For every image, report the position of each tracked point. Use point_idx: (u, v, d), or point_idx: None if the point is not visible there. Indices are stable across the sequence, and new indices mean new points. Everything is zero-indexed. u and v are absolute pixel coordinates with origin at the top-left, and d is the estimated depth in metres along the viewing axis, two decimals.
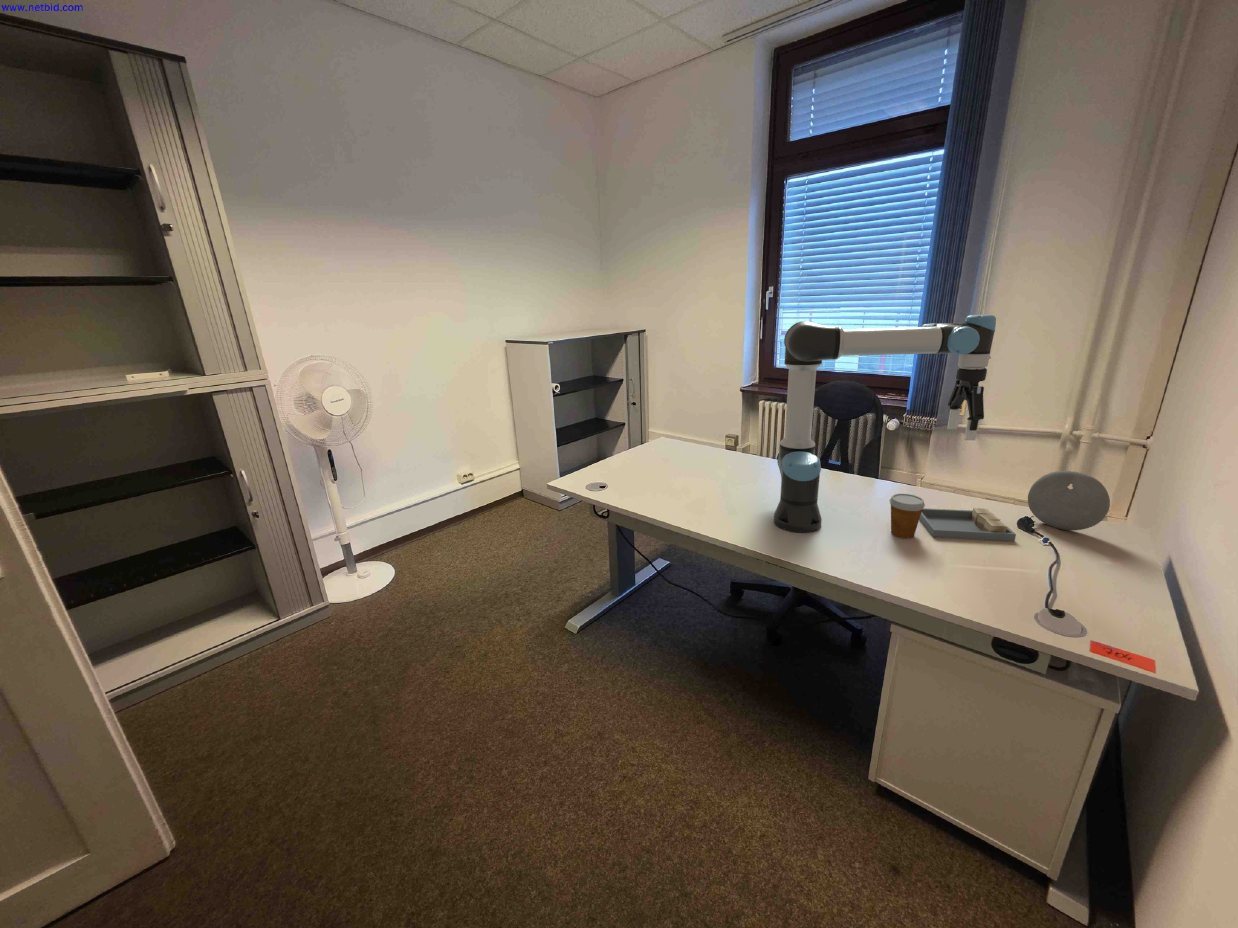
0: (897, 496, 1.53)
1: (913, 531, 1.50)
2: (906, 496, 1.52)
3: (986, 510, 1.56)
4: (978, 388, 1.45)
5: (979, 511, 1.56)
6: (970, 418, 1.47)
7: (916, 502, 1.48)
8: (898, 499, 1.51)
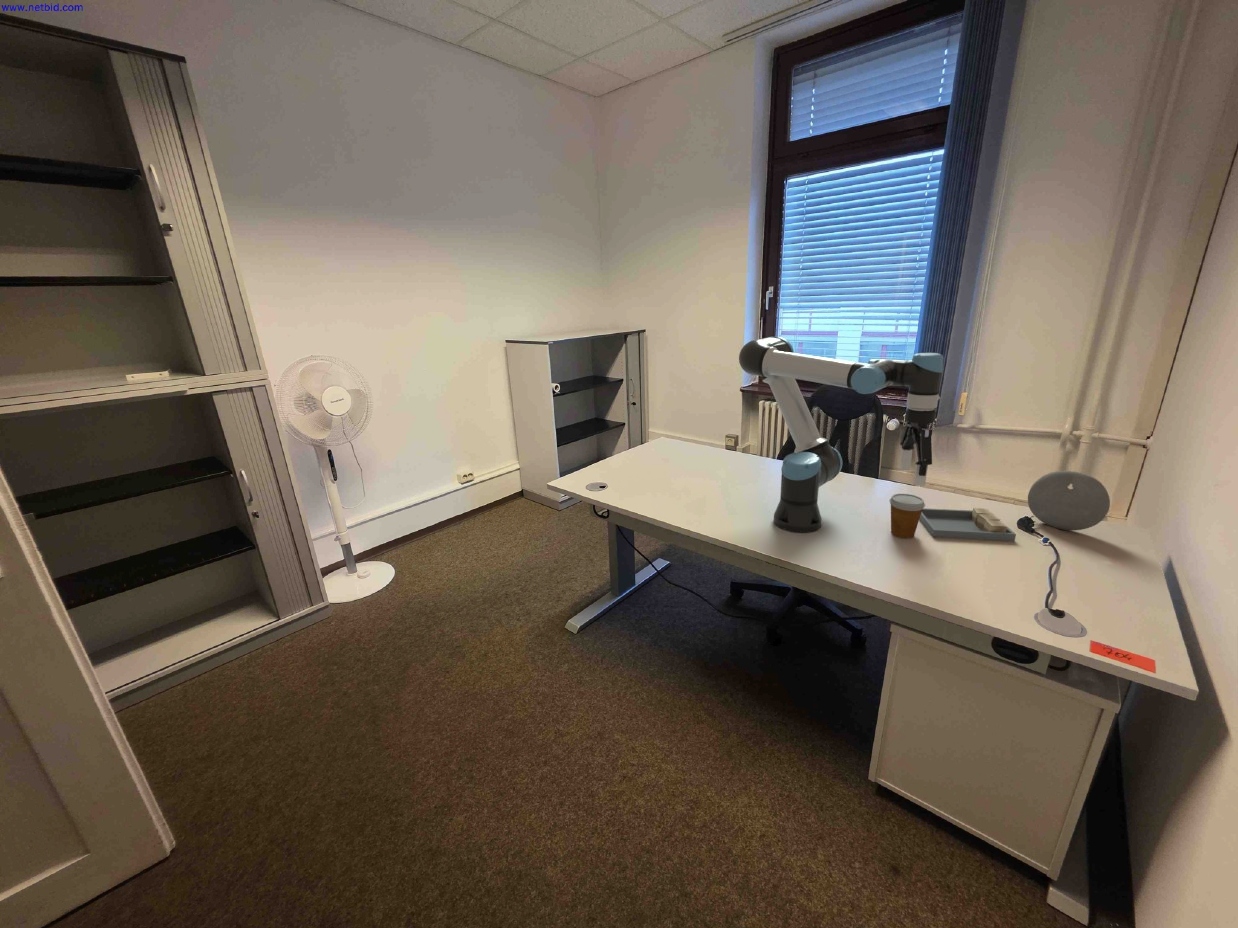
0: (897, 496, 1.53)
1: (913, 531, 1.50)
2: (906, 496, 1.52)
3: (986, 510, 1.56)
4: (926, 431, 1.36)
5: (979, 511, 1.56)
6: (918, 463, 1.38)
7: (916, 502, 1.48)
8: (898, 499, 1.51)
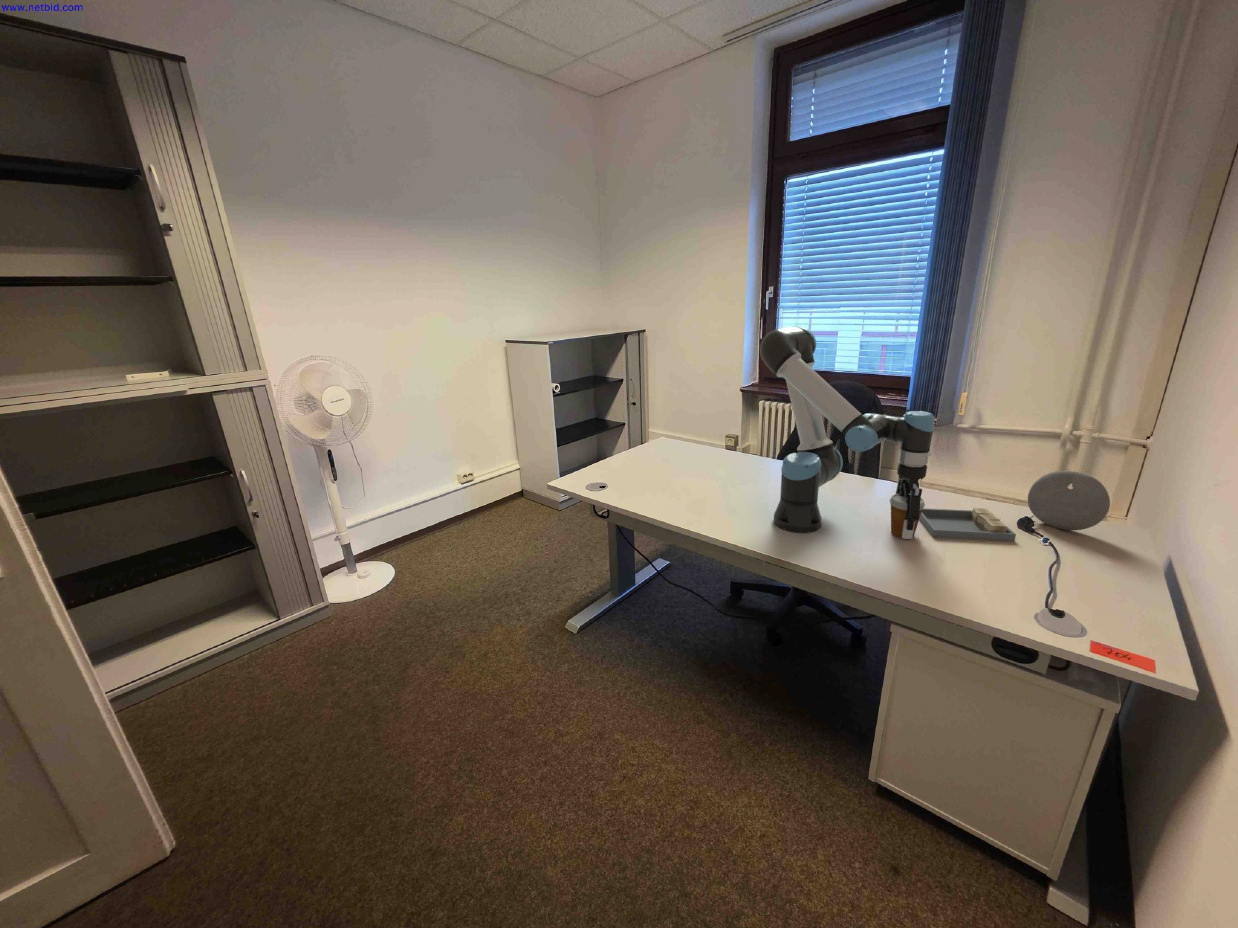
0: (897, 496, 1.53)
1: (913, 531, 1.50)
2: None
3: (986, 510, 1.56)
4: (916, 491, 1.42)
5: (979, 511, 1.56)
6: (906, 519, 1.46)
7: None
8: (898, 499, 1.51)
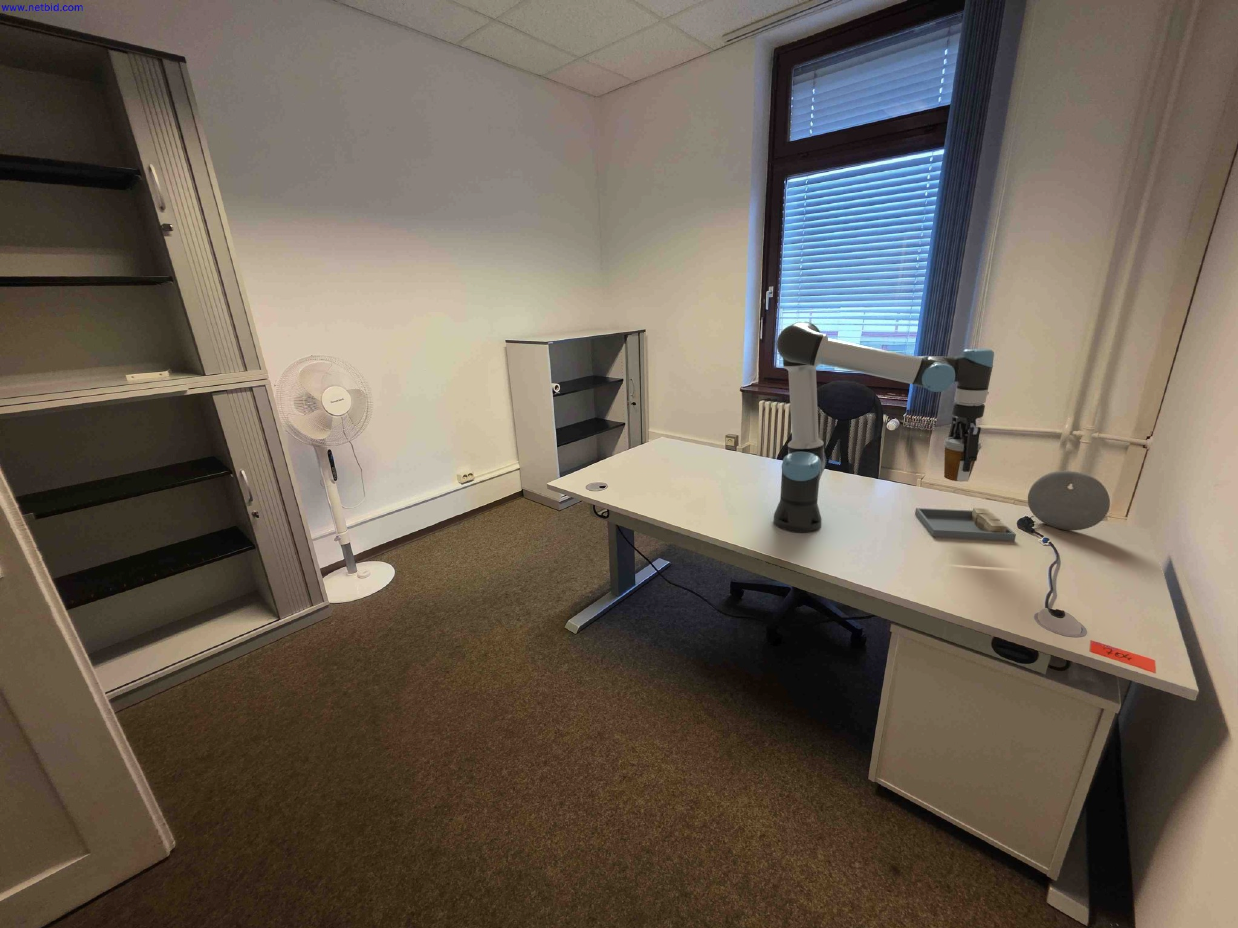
0: (951, 439, 1.49)
1: (969, 474, 1.47)
2: (960, 439, 1.49)
3: (986, 510, 1.56)
4: (975, 429, 1.39)
5: (979, 511, 1.56)
6: (963, 460, 1.43)
7: None
8: (953, 441, 1.47)
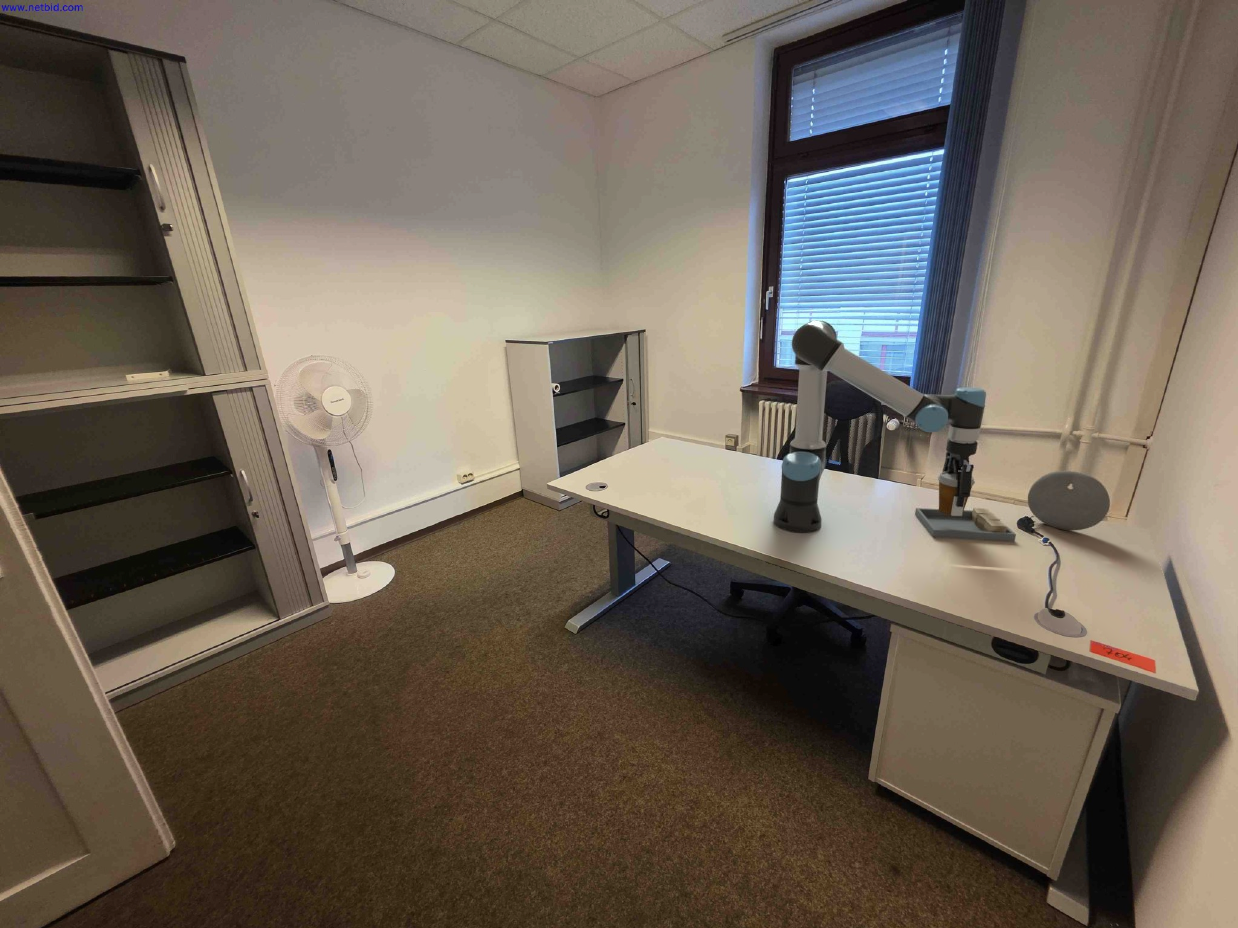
0: (945, 474, 1.53)
1: None
2: (954, 474, 1.53)
3: (986, 510, 1.56)
4: (968, 467, 1.42)
5: (979, 511, 1.56)
6: (956, 495, 1.46)
7: None
8: (947, 476, 1.51)
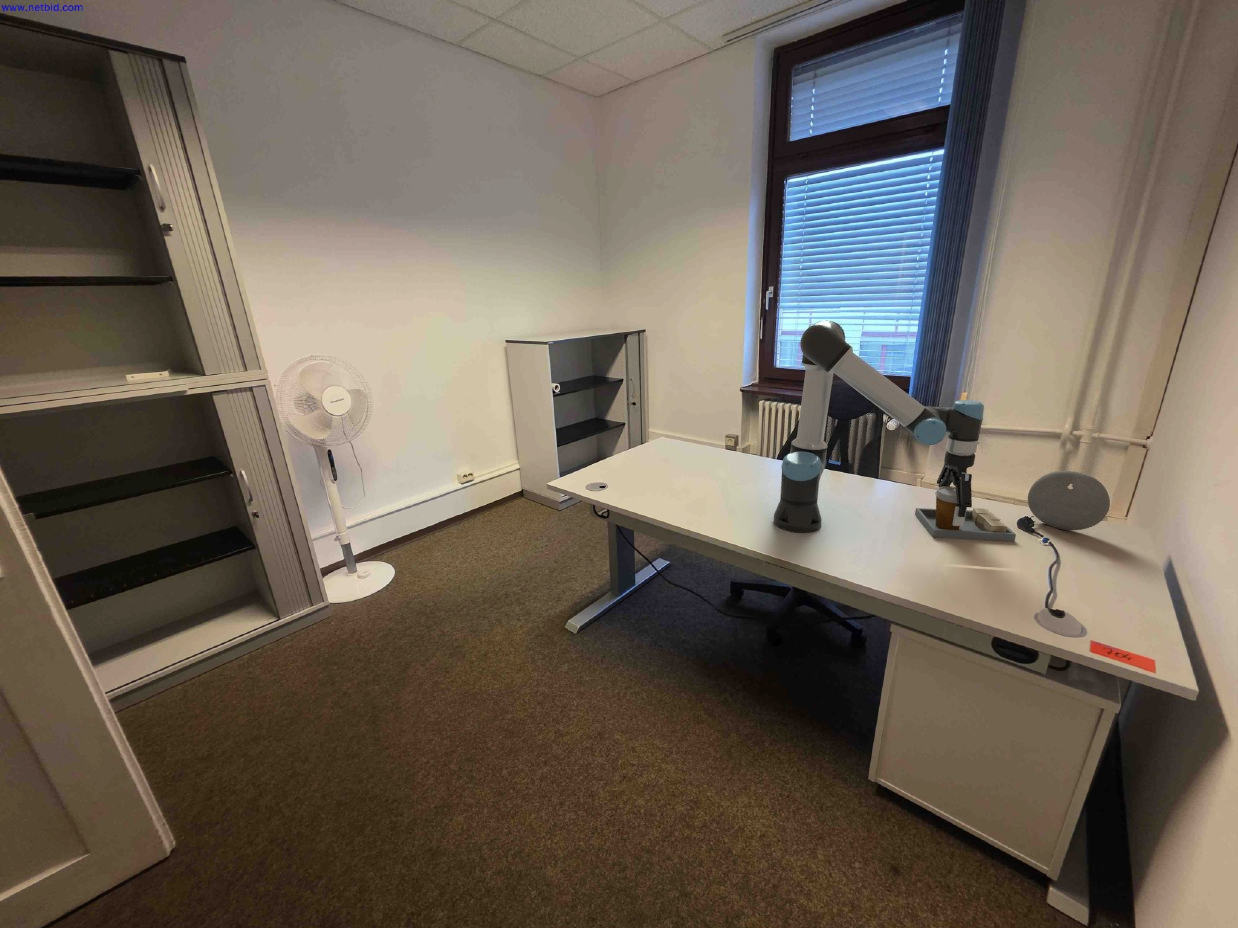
0: (942, 489, 1.55)
1: None
2: (951, 489, 1.54)
3: (986, 510, 1.56)
4: (966, 476, 1.43)
5: (979, 511, 1.56)
6: (958, 505, 1.45)
7: None
8: (944, 492, 1.52)
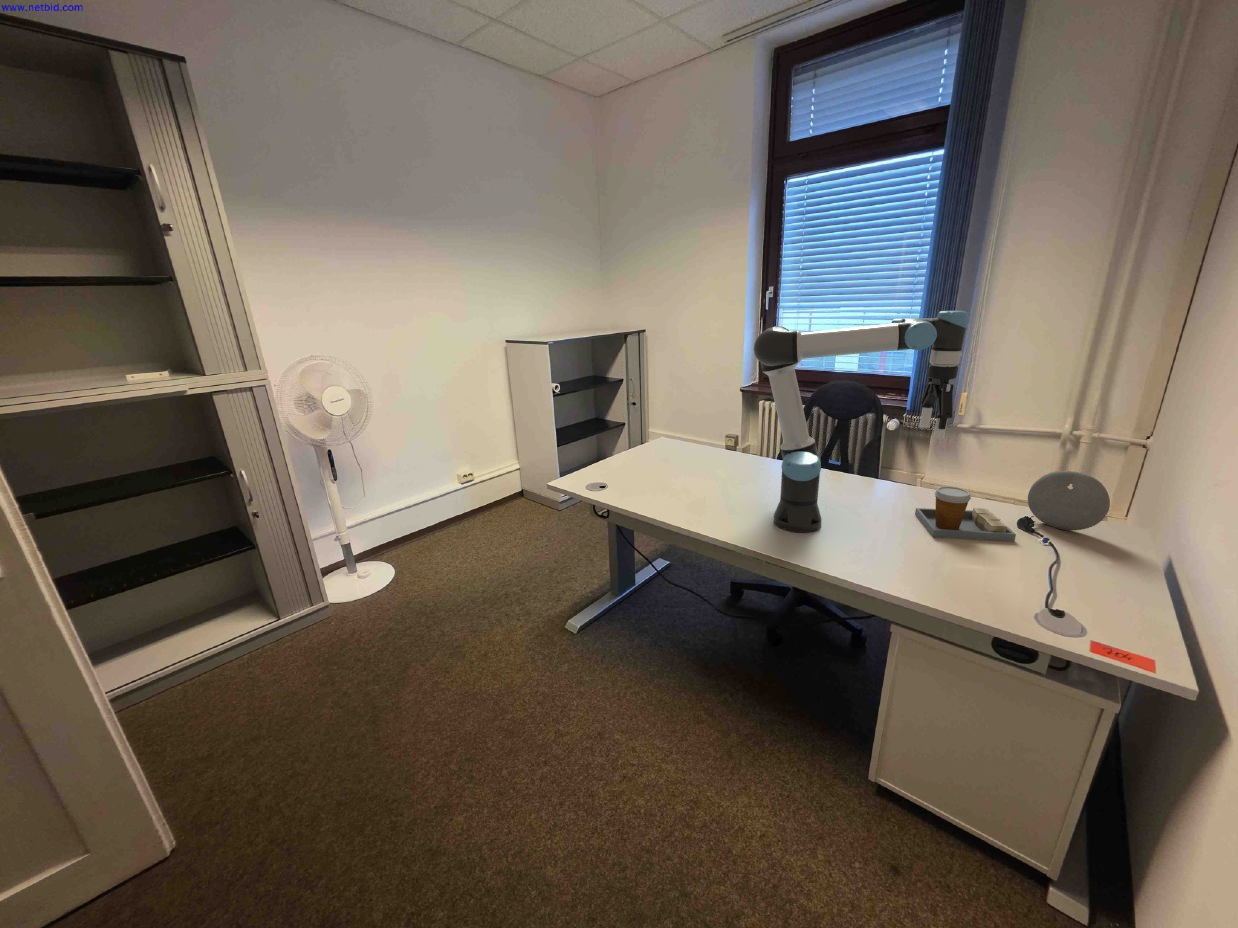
0: (942, 489, 1.55)
1: (959, 523, 1.52)
2: (951, 489, 1.54)
3: (986, 510, 1.56)
4: (947, 386, 1.42)
5: (979, 511, 1.56)
6: (939, 416, 1.44)
7: (962, 494, 1.50)
8: (944, 492, 1.53)
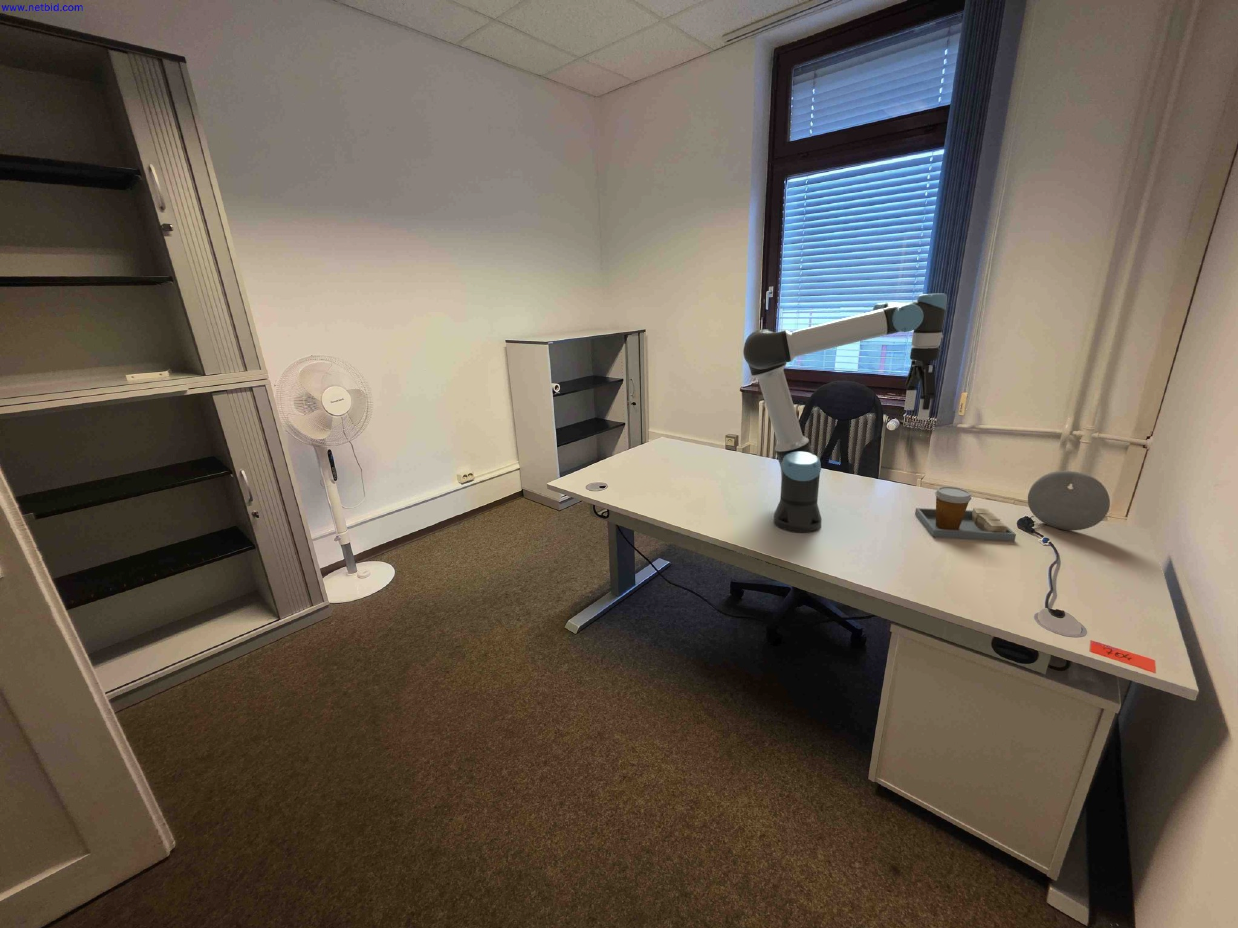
0: (942, 489, 1.55)
1: (959, 523, 1.52)
2: (951, 489, 1.54)
3: (986, 510, 1.56)
4: (930, 367, 1.45)
5: (979, 511, 1.56)
6: (922, 397, 1.47)
7: (963, 495, 1.50)
8: (944, 492, 1.52)
